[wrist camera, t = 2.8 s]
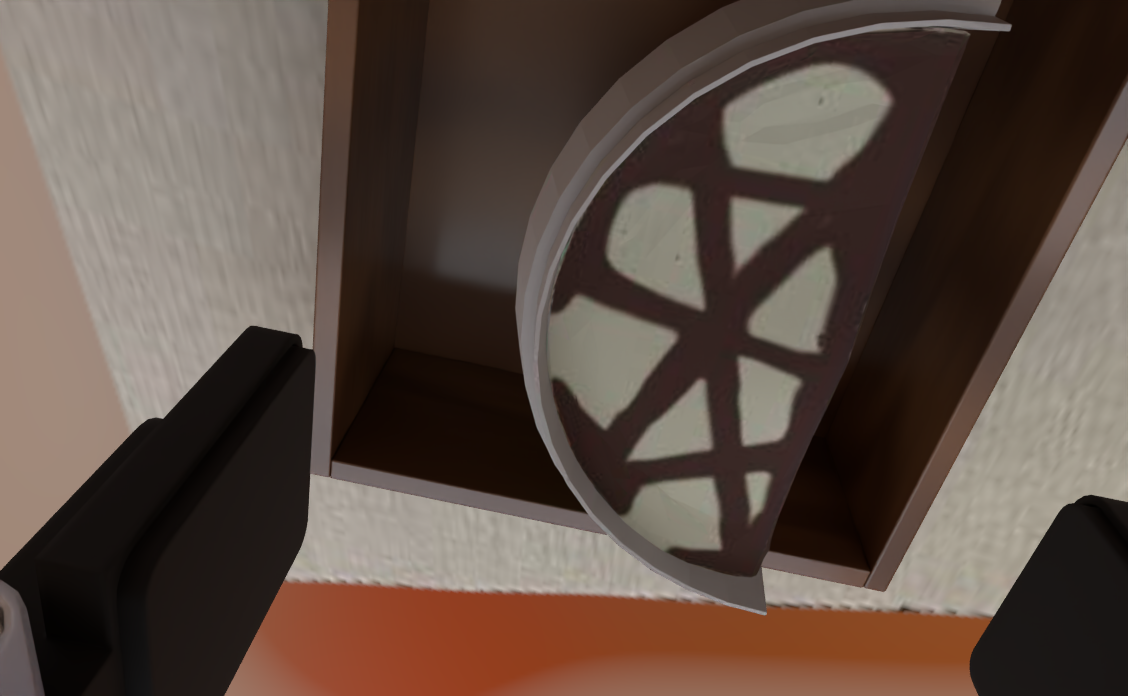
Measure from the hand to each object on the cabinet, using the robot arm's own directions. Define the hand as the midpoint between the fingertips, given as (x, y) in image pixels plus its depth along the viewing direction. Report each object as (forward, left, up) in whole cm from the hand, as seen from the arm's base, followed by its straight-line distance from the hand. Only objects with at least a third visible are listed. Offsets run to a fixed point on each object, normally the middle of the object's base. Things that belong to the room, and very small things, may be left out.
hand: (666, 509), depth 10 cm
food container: (0, 0, -14) cm, 14 cm away
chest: (0, 0, -15) cm, 15 cm away
